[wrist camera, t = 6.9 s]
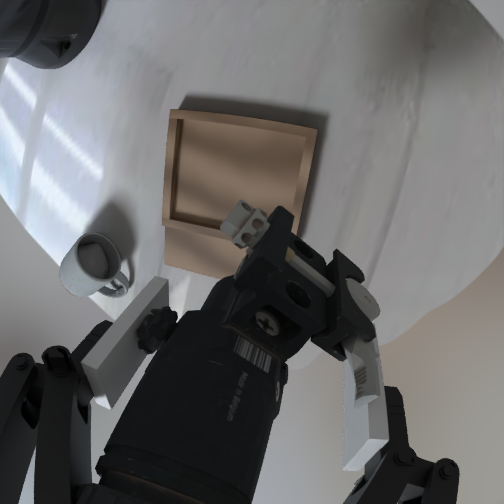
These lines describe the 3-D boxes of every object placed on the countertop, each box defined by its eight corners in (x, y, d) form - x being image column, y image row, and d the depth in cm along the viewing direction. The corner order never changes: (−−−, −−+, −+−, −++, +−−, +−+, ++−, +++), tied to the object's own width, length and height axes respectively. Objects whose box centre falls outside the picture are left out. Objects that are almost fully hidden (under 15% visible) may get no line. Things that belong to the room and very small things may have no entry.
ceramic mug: (76, 250, 45) (45, 272, 38) (99, 223, 42) (66, 245, 35) (115, 300, 47) (90, 327, 41) (143, 279, 44) (116, 308, 37)
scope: (411, 572, 3) (203, 570, 8) (375, 280, 15) (260, 373, 20) (20, 465, 2) (32, 488, 7) (251, 178, 14) (158, 303, 19)
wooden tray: (178, 109, 33) (170, 109, 31) (317, 129, 30) (317, 129, 29) (167, 261, 41) (161, 267, 40) (283, 290, 39) (281, 298, 38)
